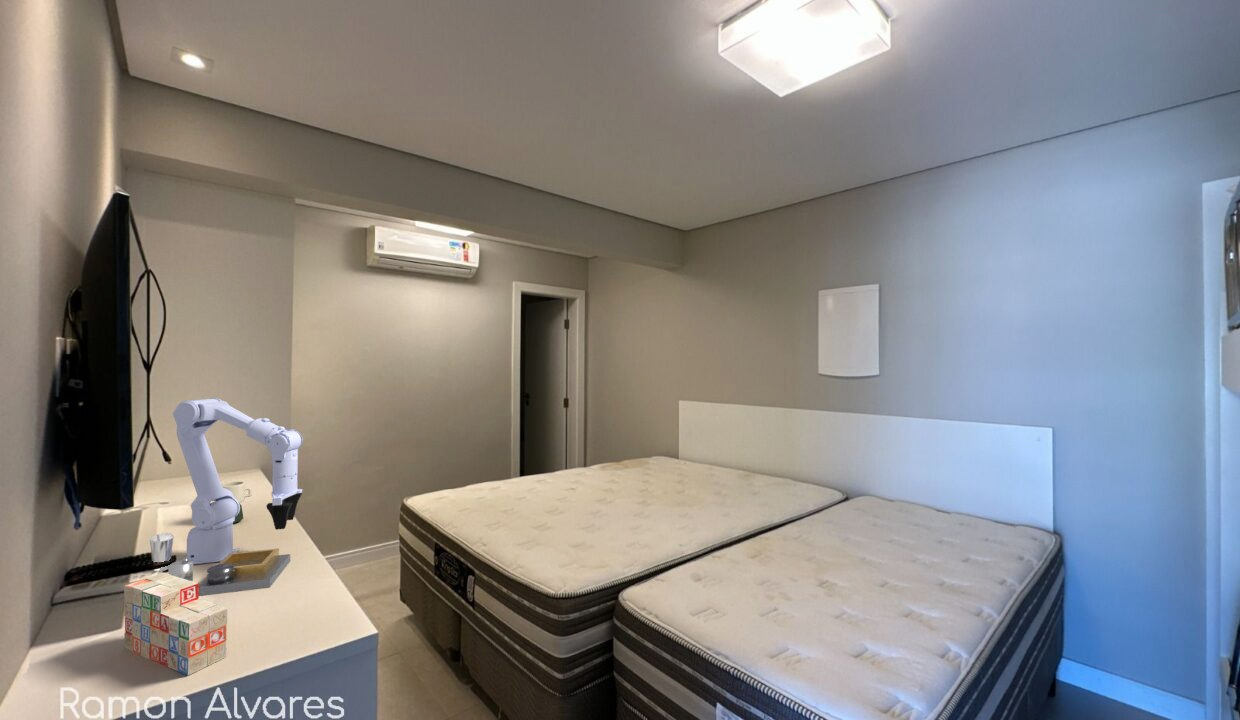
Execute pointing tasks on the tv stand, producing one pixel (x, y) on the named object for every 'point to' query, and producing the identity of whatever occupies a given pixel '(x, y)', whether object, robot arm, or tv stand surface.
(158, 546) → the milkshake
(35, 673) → the tv stand surface
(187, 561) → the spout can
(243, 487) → the character mug
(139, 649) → the stack of blocks
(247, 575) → the grey piece
